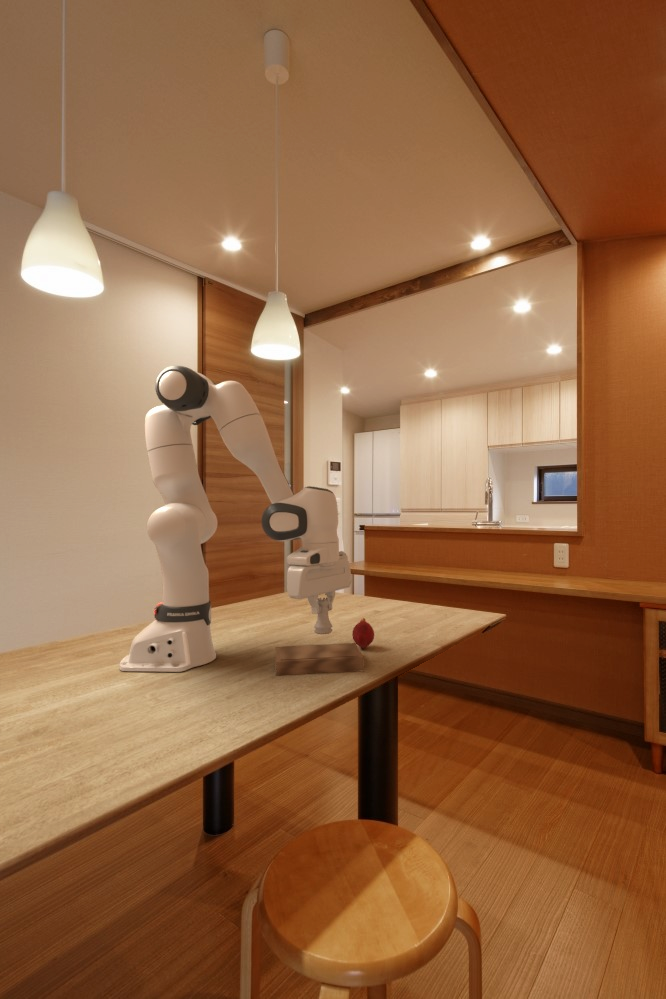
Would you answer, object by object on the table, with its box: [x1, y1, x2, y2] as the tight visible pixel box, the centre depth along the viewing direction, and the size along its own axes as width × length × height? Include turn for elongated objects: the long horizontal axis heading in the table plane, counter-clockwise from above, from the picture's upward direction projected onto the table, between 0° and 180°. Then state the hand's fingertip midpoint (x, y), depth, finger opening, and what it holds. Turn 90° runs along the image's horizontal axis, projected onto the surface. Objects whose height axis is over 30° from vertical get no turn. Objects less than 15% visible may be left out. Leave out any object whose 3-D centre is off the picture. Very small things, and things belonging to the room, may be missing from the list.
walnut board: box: [275, 642, 365, 676], centre depth 118 cm, size 20×12×3 cm, turn 97°
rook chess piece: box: [313, 597, 333, 635], centre depth 118 cm, size 4×4×8 cm
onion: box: [351, 617, 375, 650], centre depth 130 cm, size 6×6×8 cm
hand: (322, 612), depth 118 cm, fingers closed on rook chess piece, 3 cm apart
